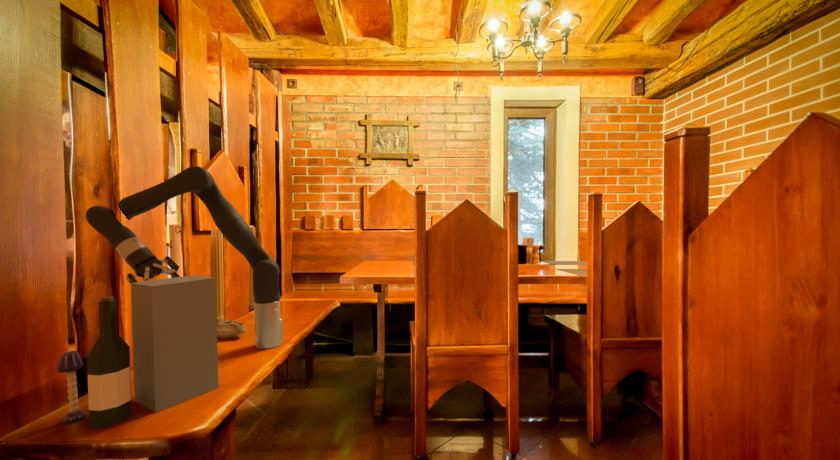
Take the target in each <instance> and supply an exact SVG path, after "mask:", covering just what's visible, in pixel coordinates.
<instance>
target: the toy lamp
mask: <svg viewBox="0 0 840 460" xmlns="http://www.w3.org/2000/svg"><path fill="white" fill-rule="evenodd" d="M83 367H84V362H83V360H82V358H81V355H80V354H79V352H78V350H71V351H67V352H64V353H61V355H60V357H59V361H58V365H57V368H56V371H57V373H59V374H61V373H63V374H64V373H65V375H66V382H67V383H66V387H67V388H68V389H67V394H68V396H67V400H68V406H69V409H68V410H69V412H68V413H67V414H66V415H65V416H64V417H63V420H62V424H63V425H70V424H74V423H78V422H80V421H83V420H85V419H86V417H87V413H86V412H85V411H84V410H82V409H80V406H79V399H78V398H79V395H78V390H79V389H78V387H77V386H78V382H77V378H78V377H77V375H76V374H77V370H80V369H82V368H83Z"/></svg>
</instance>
